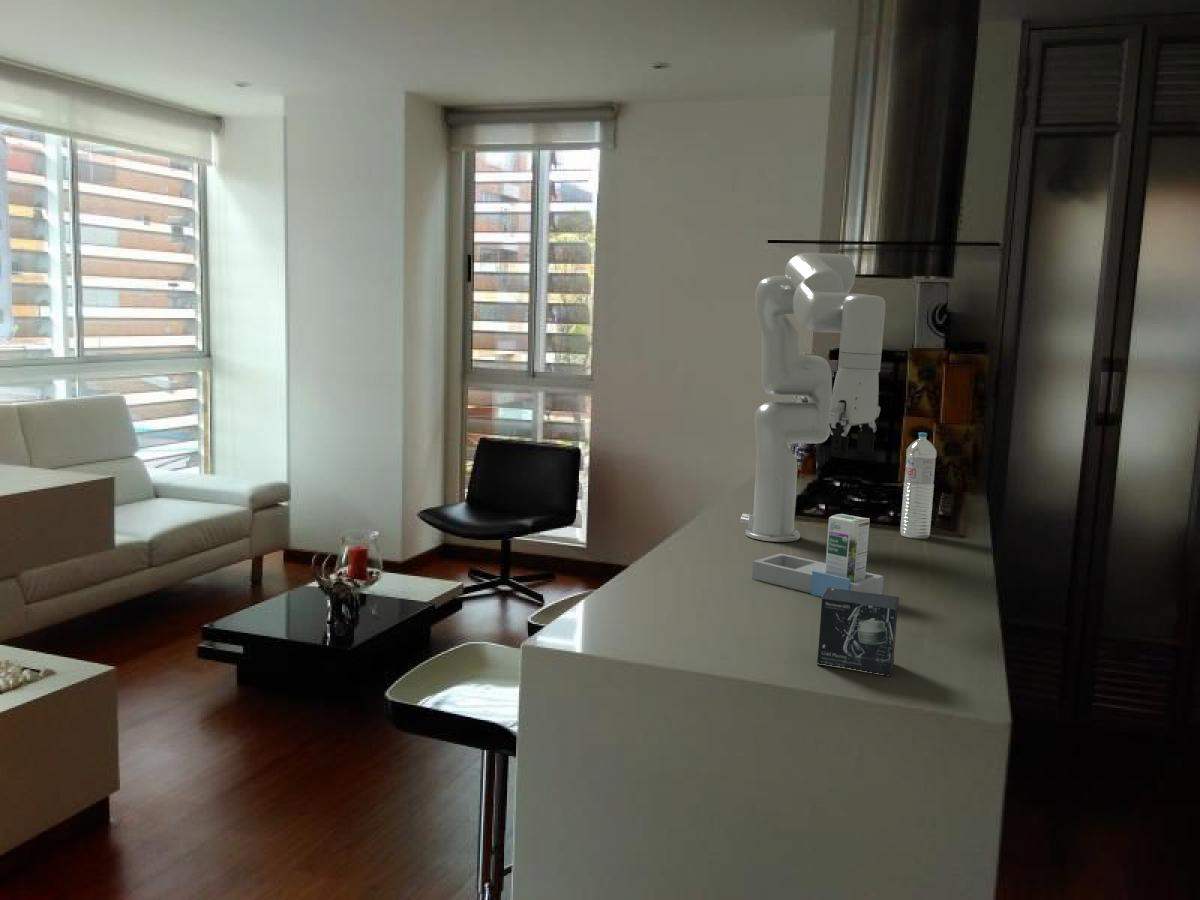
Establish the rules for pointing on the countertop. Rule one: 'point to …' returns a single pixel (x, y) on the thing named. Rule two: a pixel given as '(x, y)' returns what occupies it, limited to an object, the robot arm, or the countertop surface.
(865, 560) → the syrup box
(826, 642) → the box
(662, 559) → the countertop surface
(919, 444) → the water bottle
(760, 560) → the gray rectangular open frame
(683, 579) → the countertop surface
